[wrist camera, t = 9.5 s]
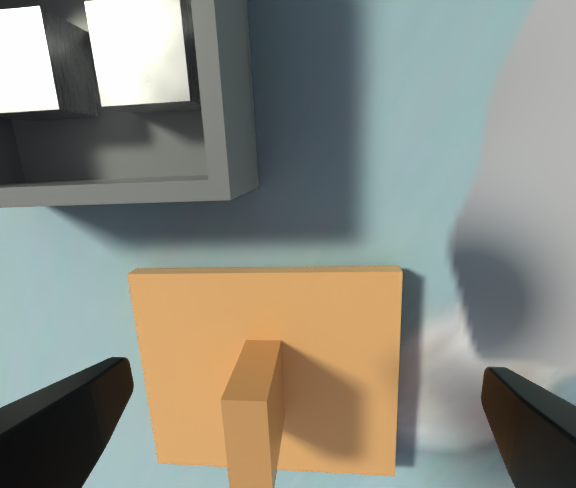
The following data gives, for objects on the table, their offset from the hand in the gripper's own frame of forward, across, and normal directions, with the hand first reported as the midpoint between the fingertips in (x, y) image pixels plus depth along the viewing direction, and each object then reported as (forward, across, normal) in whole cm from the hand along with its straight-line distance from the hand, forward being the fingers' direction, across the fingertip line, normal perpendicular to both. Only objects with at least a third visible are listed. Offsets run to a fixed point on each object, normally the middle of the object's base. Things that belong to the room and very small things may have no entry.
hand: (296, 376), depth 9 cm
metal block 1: (+11, +13, -10) cm, 19 cm away
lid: (+11, +3, +7) cm, 14 cm away
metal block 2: (+11, +7, -10) cm, 16 cm away
